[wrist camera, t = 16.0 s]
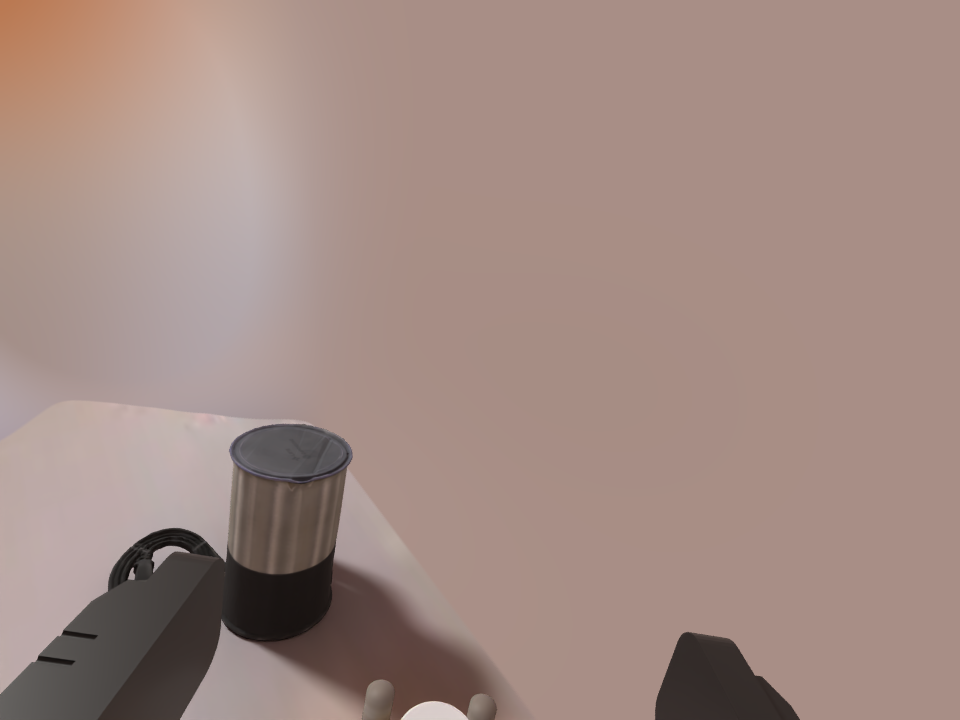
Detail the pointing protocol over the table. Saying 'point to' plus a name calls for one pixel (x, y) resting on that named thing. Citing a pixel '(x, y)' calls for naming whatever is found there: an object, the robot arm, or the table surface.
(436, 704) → the supplement bottle
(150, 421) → the table surface
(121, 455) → the table surface
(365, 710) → the pin tray
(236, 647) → the table surface
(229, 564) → the milk frother
